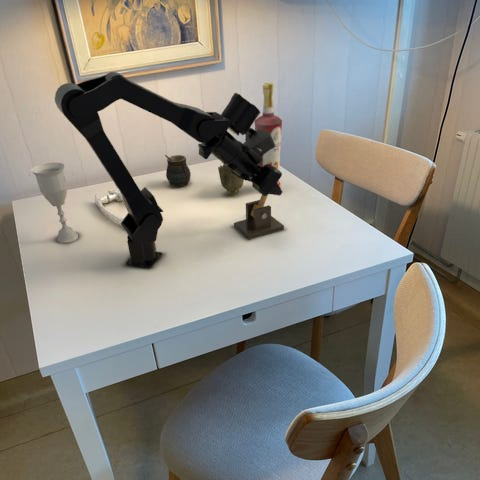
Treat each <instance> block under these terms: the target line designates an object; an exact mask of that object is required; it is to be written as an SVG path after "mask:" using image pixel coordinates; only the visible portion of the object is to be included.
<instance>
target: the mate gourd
mask: <svg viewBox="0 0 480 480" xmlns="http://www.w3.org/2000/svg"><path fill="white" fill-rule="evenodd" d="M164 157H165V158H167V159H166V162H167V166H166V172H165V176H166V180H167V181H168V184H169V185H171V186H172V187H175V188H182V187H185V186H187V185H189V183H190V181H191V174H192V172H191V169H190V168H189V166H188V164H187V157H186V156H185V155H181V154H174V155H170V156H168V155H167V154H165V155H164Z"/></svg>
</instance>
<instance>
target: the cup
mask: <svg viewBox="0 0 480 480" xmlns="http://www.w3.org/2000/svg"><path fill="white" fill-rule="evenodd" d="M219 165H220V166H217V169H218V174H219V180H220V184H221V186H222V187H223V189H224V190H226V191H225V193H226V194H227V196H231V197H232V196H233V197H234V196H237V195H239V193H240V189H241V188H242V187H243V185H244V181H245V180H243V179H240V178H239V177H237V176H236V175H234V174H233V173H231V172H230V171H229V170H227V169H226V168H225V165H224V164H223V163H222V164H219Z"/></svg>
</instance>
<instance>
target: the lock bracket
mask: <svg viewBox="0 0 480 480" xmlns="http://www.w3.org/2000/svg"><path fill="white" fill-rule="evenodd" d="M259 201H260V199H257V200H253V201H249V202H246V203H245V219H242V220H239V221H235V222H233V227H234V228H235V229H236V230H237V231H238V232H239V233H240V234H241V235H242V236H243V237H245V238H246V239H247V240H253V239H256V238H259V237H263V236H267V235H270V234H274V233H277V232H281V231H284V230H285V225H284V224H283V223H281V222H280V221H279V220H277V219H276V218H275V217H273V216H272V206H271V205H269V204H268V205H264V206H263V207H260V208H257V209H253V206H254V204H257V205H258V203H259ZM252 209H253V216H252V215H251V212H252Z"/></svg>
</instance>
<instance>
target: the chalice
mask: <svg viewBox="0 0 480 480" xmlns="http://www.w3.org/2000/svg"><path fill="white" fill-rule="evenodd" d="M64 169H65V164H64V163H63V162H57V161H56V162H55V161H53V162H52V161H51V162H44V163H41V164H40V163H39V164H38V165H35V166H33V167H32V168H31V172H32V173H33V174H34V176H35V178H36V182H37V185H38V188H39V191H40V193H41V194H42V196H43V197H44V199H46V200H47V202H49V204H50V205H51V206H52V207H56V209H57V213H56V214H57V216H59V220H58V222H60V223H61V226H62V227H61V228H60V229H59V230H58V233H57V234H58V235H57V242H59V243H62V244H67V243H72V242H75V241H76V240H77V239H78V238H79V235H78V233H76V231H75V230H74V229H73V228H72V227H69V226H68V225H67V218H65V212H64V210H63V208H62V206H63V205H65V203H66V198H67V193H68V183H67V179H66V175H65V172H64Z"/></svg>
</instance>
